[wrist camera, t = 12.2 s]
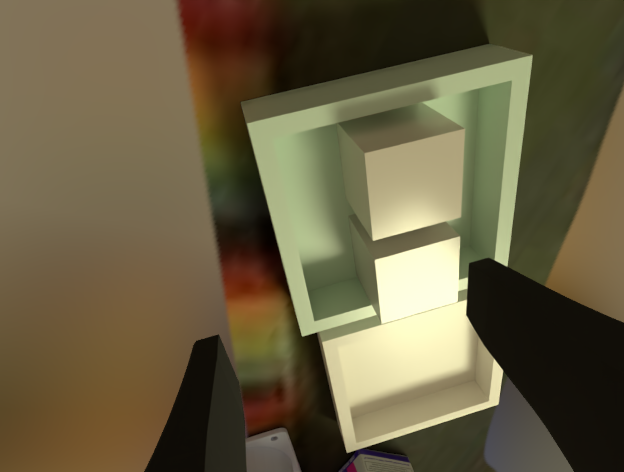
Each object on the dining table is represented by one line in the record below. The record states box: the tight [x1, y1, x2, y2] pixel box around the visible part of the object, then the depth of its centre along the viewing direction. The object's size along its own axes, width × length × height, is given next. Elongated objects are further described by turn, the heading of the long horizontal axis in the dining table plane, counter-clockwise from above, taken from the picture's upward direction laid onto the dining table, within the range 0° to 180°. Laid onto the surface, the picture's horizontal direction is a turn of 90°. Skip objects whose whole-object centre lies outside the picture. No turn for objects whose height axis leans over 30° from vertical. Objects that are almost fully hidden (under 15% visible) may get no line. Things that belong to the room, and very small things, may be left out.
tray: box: [317, 289, 503, 453], centre depth 28 cm, size 12×12×2 cm
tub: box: [240, 44, 533, 337], centre depth 21 cm, size 12×12×3 cm
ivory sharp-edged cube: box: [336, 102, 465, 241], centre depth 19 cm, size 4×4×4 cm
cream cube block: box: [348, 214, 460, 324], centre depth 22 cm, size 4×4×4 cm
